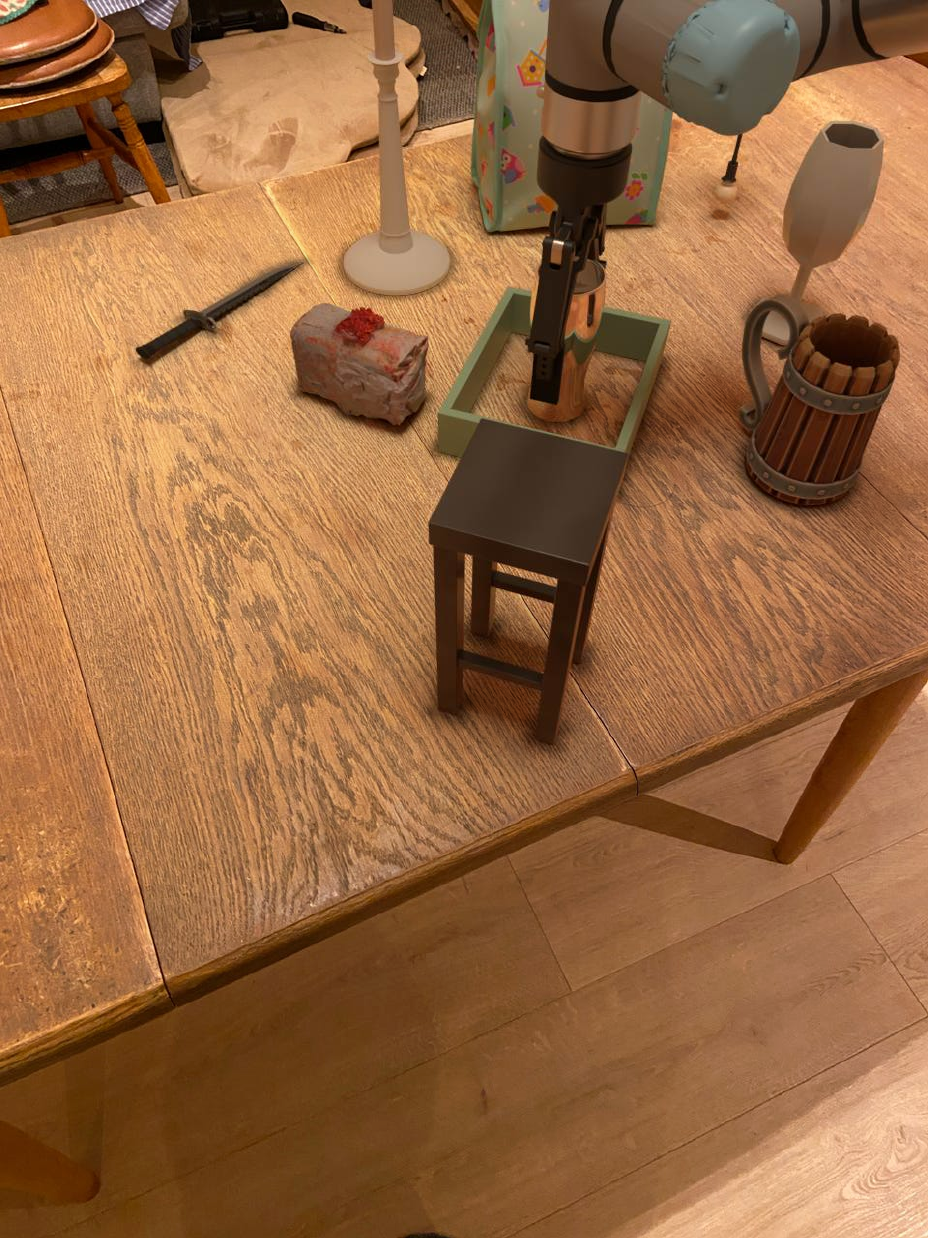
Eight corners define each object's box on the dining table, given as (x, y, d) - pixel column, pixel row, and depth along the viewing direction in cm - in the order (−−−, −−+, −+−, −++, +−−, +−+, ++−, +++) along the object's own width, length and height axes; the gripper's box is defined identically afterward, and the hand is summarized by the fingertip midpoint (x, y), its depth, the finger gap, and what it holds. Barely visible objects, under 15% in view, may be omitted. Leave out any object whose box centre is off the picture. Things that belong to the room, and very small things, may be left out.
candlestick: (455, 238, 112) (455, -49, 88) (443, 298, 104) (440, 2, 80) (353, 232, 112) (326, -55, 88) (335, 291, 105) (299, -5, 81)
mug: (876, 480, 87) (943, 351, 75) (800, 525, 84) (858, 397, 71) (759, 393, 95) (803, 263, 83) (685, 431, 91) (720, 301, 79)
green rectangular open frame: (662, 359, 98) (671, 319, 94) (615, 496, 86) (623, 457, 82) (505, 325, 101) (507, 285, 97) (438, 451, 89) (437, 412, 85)
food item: (440, 395, 94) (439, 313, 86) (404, 441, 90) (399, 360, 82) (329, 358, 98) (318, 276, 90) (288, 401, 93) (273, 319, 85)
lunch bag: (631, 167, 123) (669, -72, 101) (663, 233, 113) (713, -16, 91) (465, 178, 121) (468, -64, 99) (483, 245, 111) (490, -6, 89)
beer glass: (522, 380, 96) (532, 250, 84) (587, 382, 96) (606, 252, 83) (522, 424, 91) (533, 294, 79) (590, 426, 91) (611, 296, 79)
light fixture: (715, 237, 113) (771, 10, 92) (682, 212, 116) (730, -12, 96) (756, 223, 115) (820, -1, 94) (723, 199, 118) (778, -23, 98)
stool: (587, 648, 75) (629, 452, 57) (555, 748, 69) (589, 565, 52) (474, 616, 77) (481, 417, 59) (434, 711, 71) (427, 522, 54)
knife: (283, 247, 109) (313, 257, 107) (286, 262, 110) (316, 272, 108) (123, 338, 96) (155, 352, 94) (129, 354, 97) (160, 368, 95)
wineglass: (821, 355, 99) (897, 164, 82) (742, 339, 100) (800, 148, 83) (829, 310, 104) (902, 121, 87) (753, 295, 105) (810, 107, 88)
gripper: (578, 70, 79) (555, 292, 97) (497, 200, 66) (487, 429, 84) (662, 83, 78) (623, 306, 95) (596, 219, 65) (565, 448, 82)
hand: (560, 364), depth 89 cm, fingers open, 11 cm apart
